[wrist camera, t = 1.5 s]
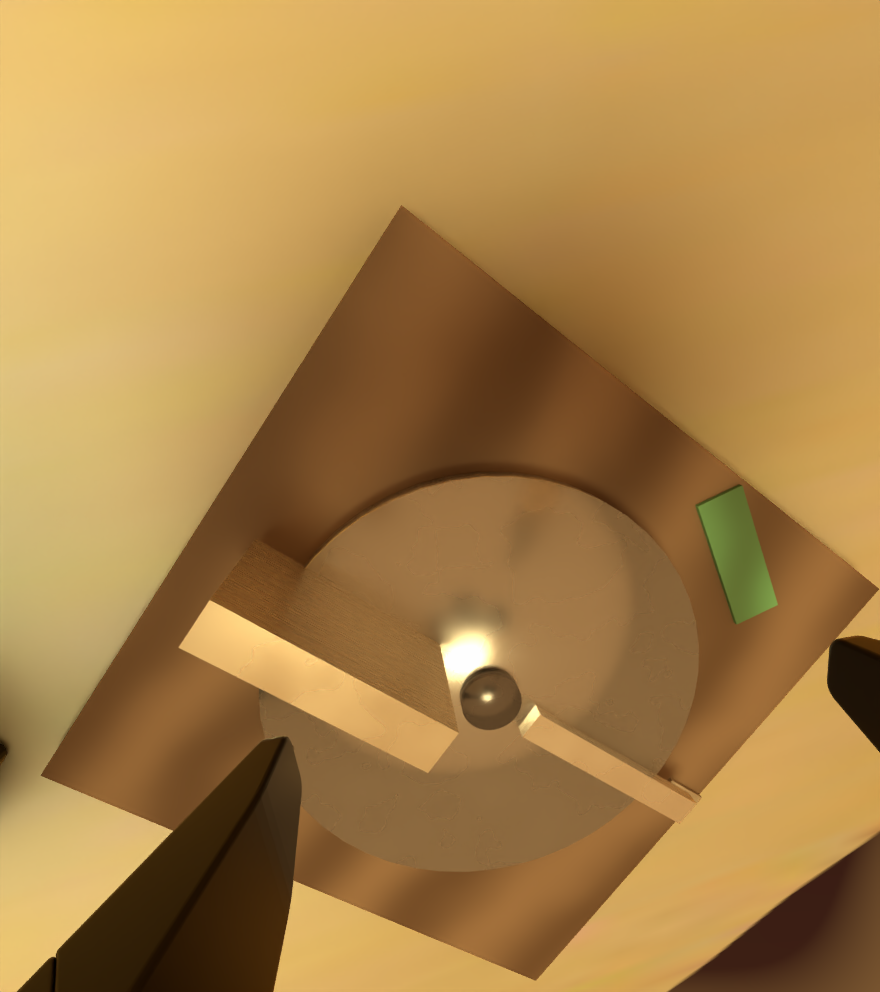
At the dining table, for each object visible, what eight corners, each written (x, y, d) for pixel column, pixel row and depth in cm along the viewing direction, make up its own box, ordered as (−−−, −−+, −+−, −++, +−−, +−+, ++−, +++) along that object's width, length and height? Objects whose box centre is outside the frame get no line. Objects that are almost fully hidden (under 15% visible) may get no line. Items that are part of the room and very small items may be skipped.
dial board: (63, 748, 22) (37, 779, 20) (399, 218, 18) (401, 203, 17) (527, 948, 28) (536, 985, 26) (849, 575, 24) (883, 590, 23)
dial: (133, 726, 20) (34, 869, 14) (385, 342, 18) (386, 328, 12) (553, 917, 25) (605, 1081, 19) (794, 638, 23) (936, 729, 17)
